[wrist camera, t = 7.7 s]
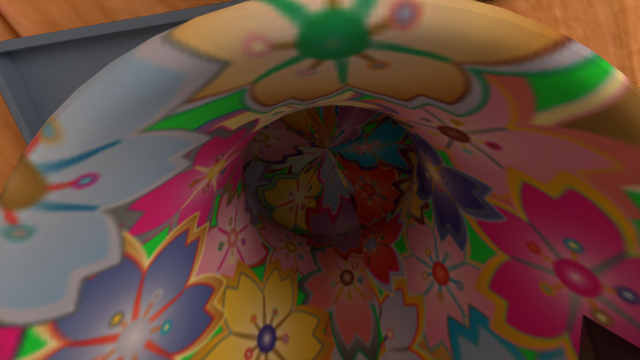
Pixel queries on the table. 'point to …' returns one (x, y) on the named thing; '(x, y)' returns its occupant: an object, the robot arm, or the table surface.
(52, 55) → the tray
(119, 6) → the table surface
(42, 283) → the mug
